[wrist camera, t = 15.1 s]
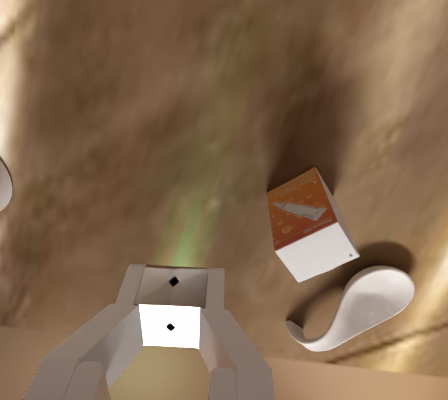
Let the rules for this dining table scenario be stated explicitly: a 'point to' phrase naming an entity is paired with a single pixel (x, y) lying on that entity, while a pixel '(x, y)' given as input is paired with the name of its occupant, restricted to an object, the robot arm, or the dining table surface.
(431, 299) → the dining table surface
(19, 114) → the dining table surface
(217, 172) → the dining table surface
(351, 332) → the spoon rest
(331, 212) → the small box
